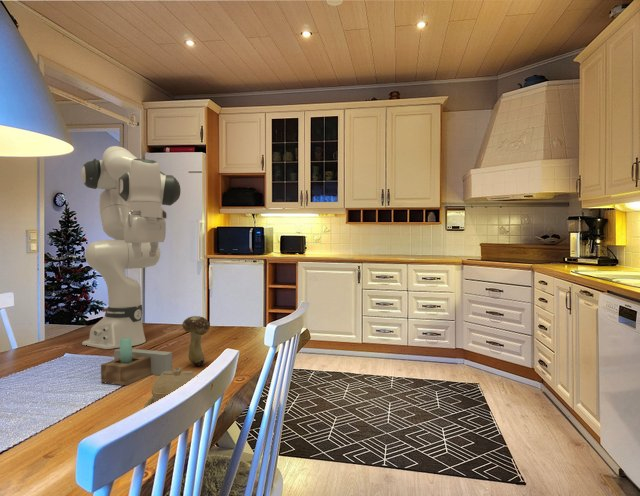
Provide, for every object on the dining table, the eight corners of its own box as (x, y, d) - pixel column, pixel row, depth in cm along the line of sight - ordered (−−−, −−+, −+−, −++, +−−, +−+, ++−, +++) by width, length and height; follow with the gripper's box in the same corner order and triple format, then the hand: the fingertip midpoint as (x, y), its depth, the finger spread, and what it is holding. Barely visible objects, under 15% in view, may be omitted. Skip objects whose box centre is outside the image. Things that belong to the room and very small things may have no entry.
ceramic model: (214, 402, 99) (214, 360, 99) (201, 423, 88) (200, 376, 88) (155, 402, 99) (155, 361, 99) (134, 423, 88) (134, 376, 88)
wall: (114, 370, 124) (114, 350, 124) (121, 367, 127) (121, 347, 126) (165, 375, 119) (165, 354, 118) (172, 372, 121) (172, 352, 121)
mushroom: (188, 361, 133) (187, 314, 133) (215, 361, 133) (214, 314, 132) (177, 370, 124) (176, 320, 123) (206, 370, 123) (205, 320, 123)
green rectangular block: (118, 376, 115) (117, 340, 115) (125, 372, 118) (124, 337, 118) (127, 376, 114) (126, 340, 114) (134, 373, 117) (133, 338, 117)
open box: (101, 382, 113) (100, 364, 113) (128, 371, 122) (127, 354, 122) (125, 385, 110) (125, 367, 110) (150, 374, 120) (150, 356, 120)
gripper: (139, 210, 116) (140, 259, 116) (169, 213, 136) (169, 256, 137) (117, 209, 116) (117, 259, 116) (150, 213, 136) (150, 255, 137)
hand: (145, 257), depth 127 cm, fingers open, 8 cm apart
